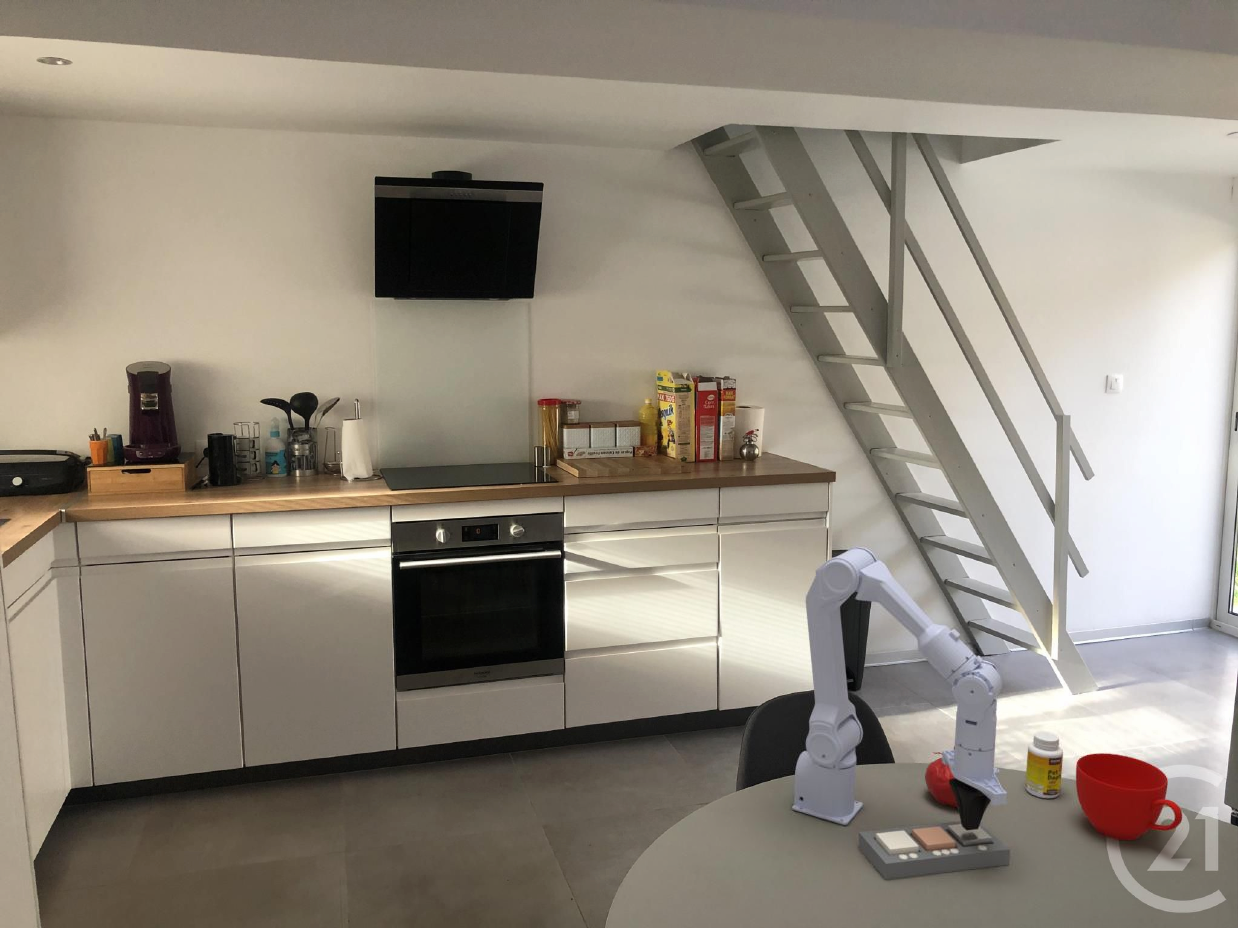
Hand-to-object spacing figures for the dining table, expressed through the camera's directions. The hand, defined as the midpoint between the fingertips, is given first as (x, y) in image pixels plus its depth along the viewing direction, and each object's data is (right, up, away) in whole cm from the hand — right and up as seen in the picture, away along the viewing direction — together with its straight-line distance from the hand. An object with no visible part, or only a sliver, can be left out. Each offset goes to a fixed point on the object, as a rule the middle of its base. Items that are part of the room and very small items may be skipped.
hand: (970, 827), depth 150 cm
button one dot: (0, -2, 0) cm, 2 cm away
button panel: (-6, -4, -1) cm, 7 cm away
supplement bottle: (+19, -1, +20) cm, 28 cm away
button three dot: (-6, -3, -1) cm, 6 cm away
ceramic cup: (+27, -3, +5) cm, 28 cm away
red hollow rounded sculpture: (+3, -2, +17) cm, 17 cm away
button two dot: (-12, -3, -2) cm, 12 cm away
